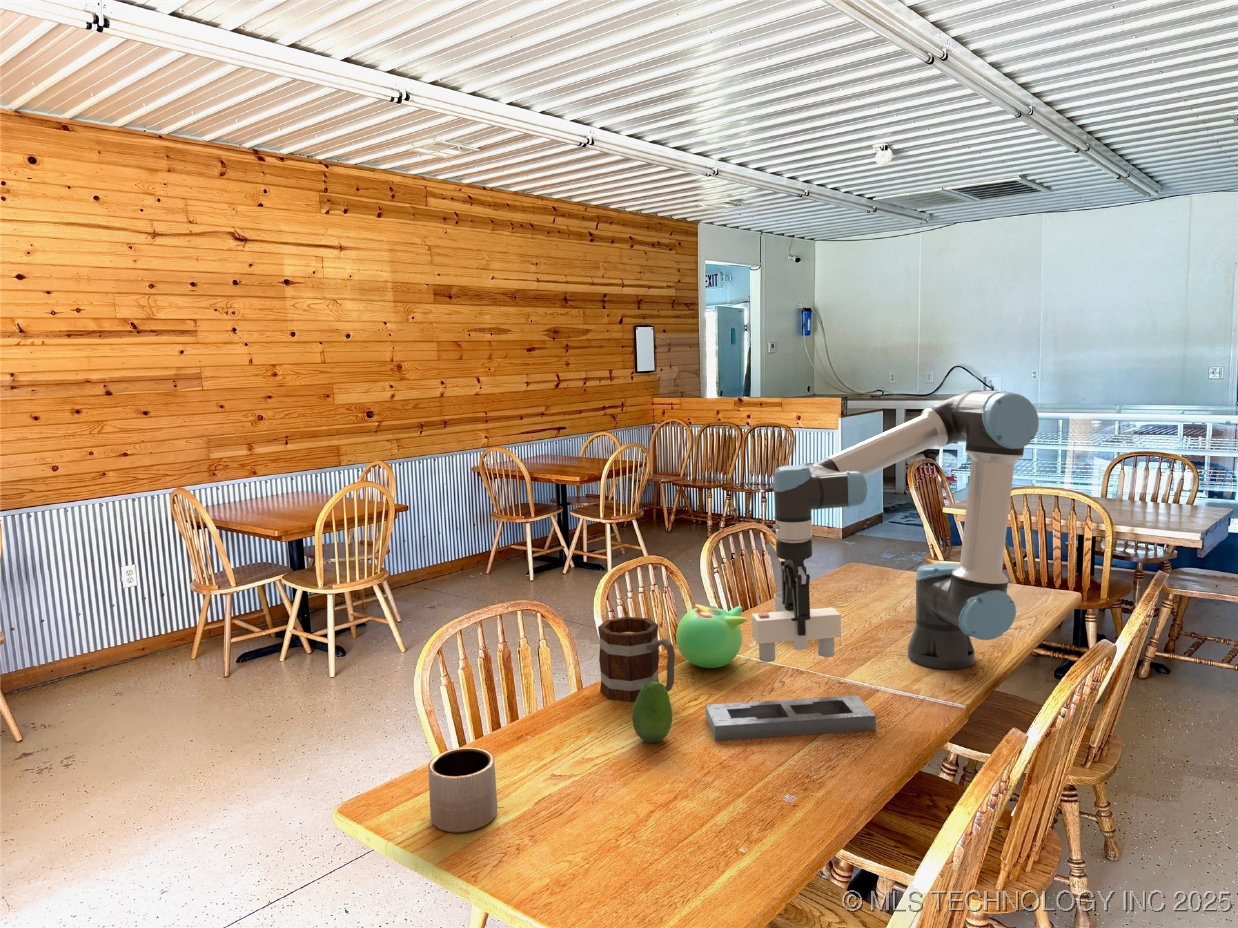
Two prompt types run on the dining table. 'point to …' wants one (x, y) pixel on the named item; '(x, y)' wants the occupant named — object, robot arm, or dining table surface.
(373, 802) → the dining table surface
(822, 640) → the cream block with pegs
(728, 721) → the keyhole plate
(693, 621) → the toy bird
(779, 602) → the cup
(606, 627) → the mug
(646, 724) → the fruit
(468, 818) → the planter
